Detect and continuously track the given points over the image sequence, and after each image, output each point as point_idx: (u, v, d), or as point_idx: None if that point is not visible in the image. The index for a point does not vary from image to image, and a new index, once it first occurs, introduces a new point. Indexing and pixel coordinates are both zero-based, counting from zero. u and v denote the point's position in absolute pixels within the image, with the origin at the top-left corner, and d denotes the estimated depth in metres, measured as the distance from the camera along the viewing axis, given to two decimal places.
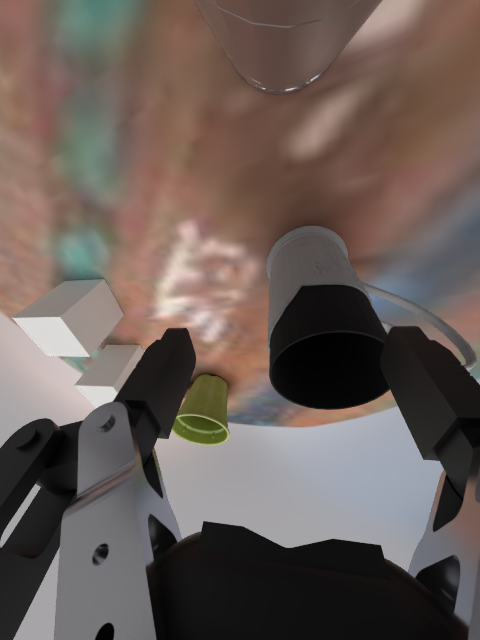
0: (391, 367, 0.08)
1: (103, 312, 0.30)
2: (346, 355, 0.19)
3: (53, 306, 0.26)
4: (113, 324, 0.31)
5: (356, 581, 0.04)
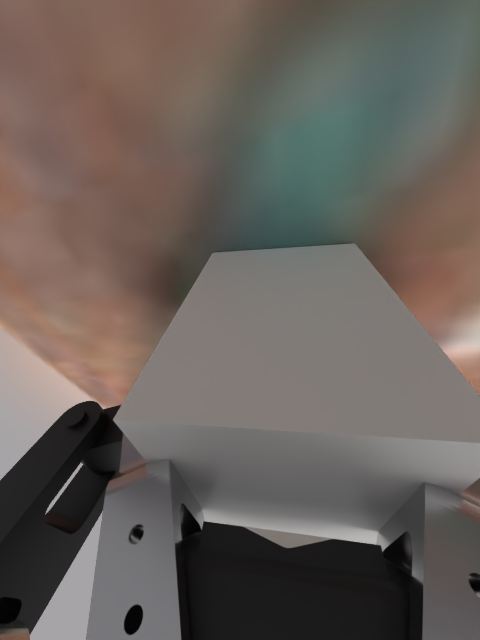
0: None
1: None
2: None
3: (307, 343, 0.05)
4: None
5: (356, 581, 0.04)
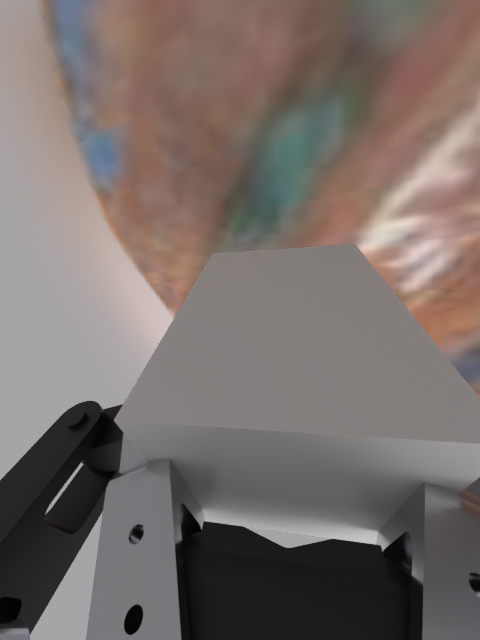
0: None
1: None
2: None
3: (307, 344, 0.05)
4: None
5: (356, 581, 0.04)
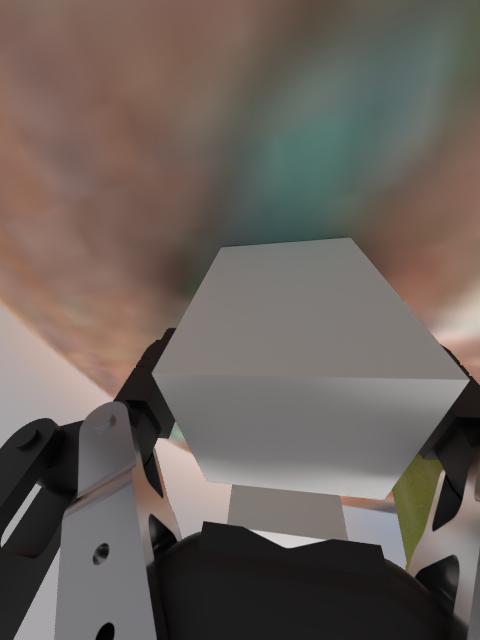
0: None
1: None
2: None
3: (308, 316, 0.06)
4: None
5: (356, 581, 0.04)
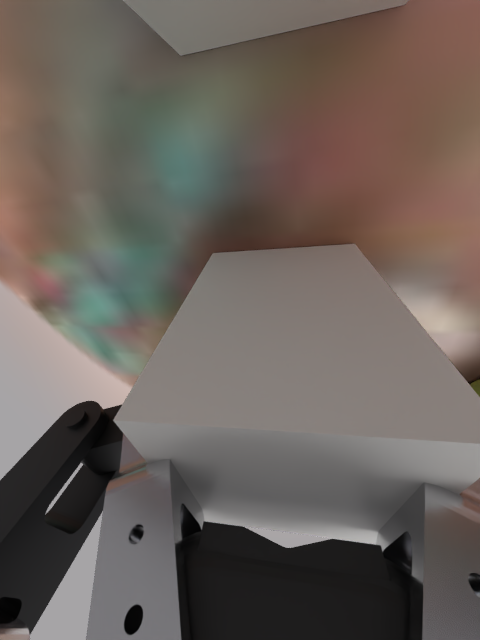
0: None
1: None
2: None
3: None
4: None
5: (356, 581, 0.04)
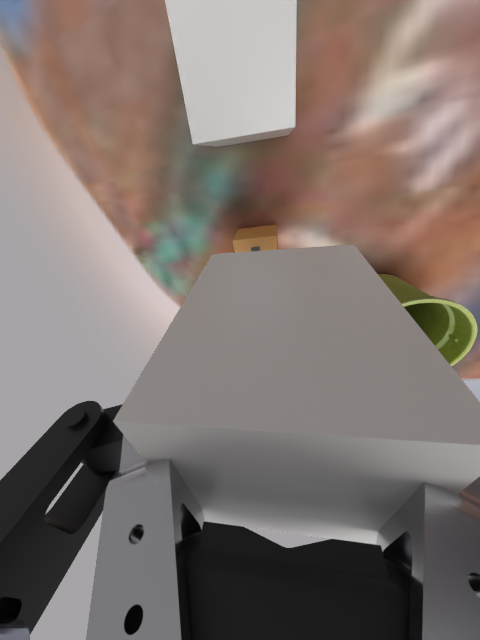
0: None
1: None
2: None
3: None
4: None
5: (356, 581, 0.04)
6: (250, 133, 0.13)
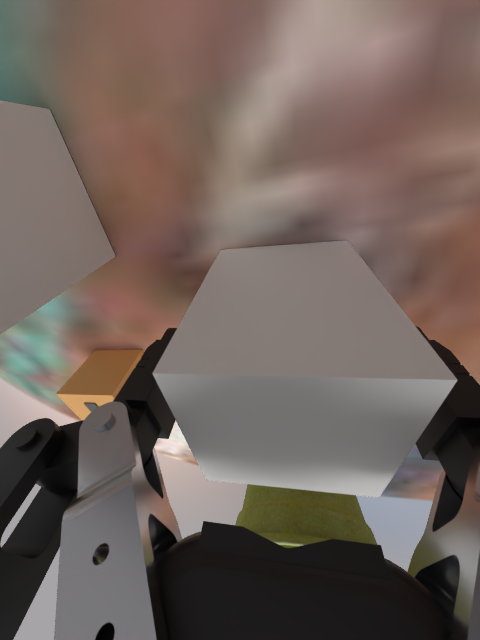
0: None
1: (40, 214, 0.09)
2: None
3: None
4: (80, 268, 0.10)
5: (356, 581, 0.04)
6: None
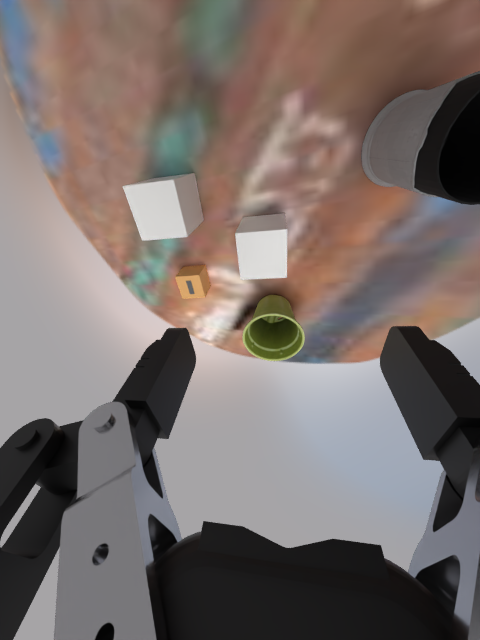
0: (391, 367, 0.08)
1: (194, 203, 0.30)
2: (479, 179, 0.19)
3: (159, 180, 0.26)
4: (198, 221, 0.32)
5: (356, 581, 0.04)
6: None
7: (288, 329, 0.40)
